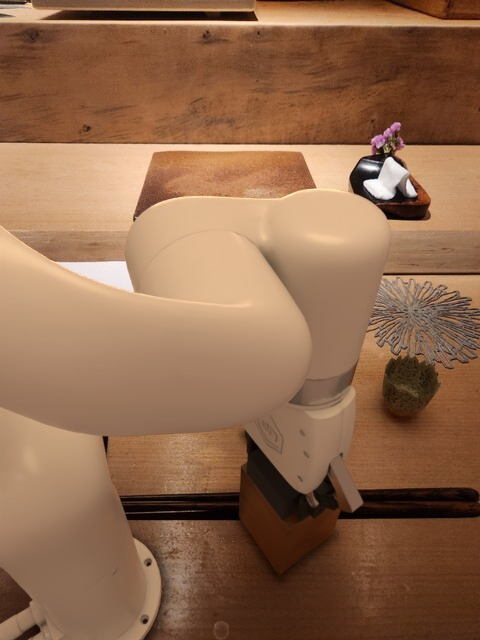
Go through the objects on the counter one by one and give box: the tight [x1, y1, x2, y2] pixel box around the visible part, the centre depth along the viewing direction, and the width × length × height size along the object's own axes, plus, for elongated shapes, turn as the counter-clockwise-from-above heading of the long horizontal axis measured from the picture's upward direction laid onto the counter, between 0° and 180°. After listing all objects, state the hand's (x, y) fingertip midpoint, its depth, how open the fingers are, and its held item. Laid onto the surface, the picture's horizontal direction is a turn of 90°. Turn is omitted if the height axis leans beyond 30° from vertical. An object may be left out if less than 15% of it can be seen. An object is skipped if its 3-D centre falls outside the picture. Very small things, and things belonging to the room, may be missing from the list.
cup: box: [381, 354, 442, 418], centre depth 66 cm, size 8×7×8 cm
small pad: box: [246, 448, 324, 521], centre depth 46 cm, size 9×6×4 cm, turn 125°
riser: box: [238, 461, 341, 576], centre depth 51 cm, size 8×8×12 cm
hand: (284, 477), depth 46 cm, fingers open, 7 cm apart
